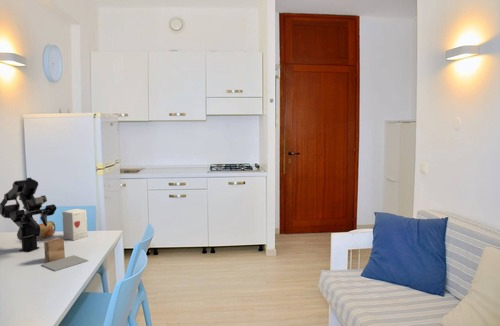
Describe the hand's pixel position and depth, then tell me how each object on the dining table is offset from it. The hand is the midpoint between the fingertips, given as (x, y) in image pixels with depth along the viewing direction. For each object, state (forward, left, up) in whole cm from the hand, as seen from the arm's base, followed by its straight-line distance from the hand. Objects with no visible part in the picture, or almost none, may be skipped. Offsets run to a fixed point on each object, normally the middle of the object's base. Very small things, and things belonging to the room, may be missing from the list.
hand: (41, 227), depth 186 cm
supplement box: (-8, +28, -14) cm, 32 cm away
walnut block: (+10, -3, -14) cm, 17 cm away
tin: (-24, +22, -14) cm, 35 cm away
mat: (+18, -5, -14) cm, 23 cm away
